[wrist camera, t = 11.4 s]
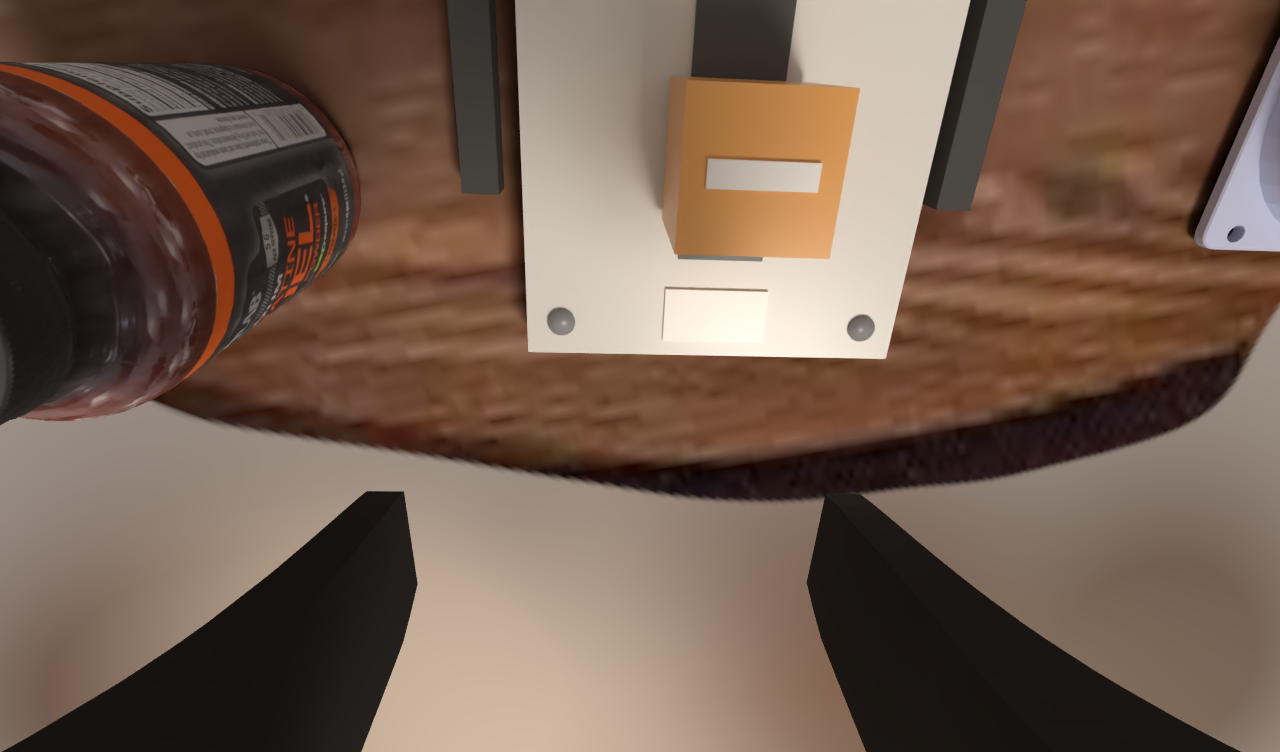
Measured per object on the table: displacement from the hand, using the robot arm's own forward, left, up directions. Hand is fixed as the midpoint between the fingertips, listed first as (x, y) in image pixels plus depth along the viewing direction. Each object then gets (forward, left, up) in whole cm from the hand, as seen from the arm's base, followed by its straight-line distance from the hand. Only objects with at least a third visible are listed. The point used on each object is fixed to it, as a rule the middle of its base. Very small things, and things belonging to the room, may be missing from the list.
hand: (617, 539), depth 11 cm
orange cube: (-3, -5, -9) cm, 11 cm away
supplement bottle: (+10, -4, -11) cm, 15 cm away
